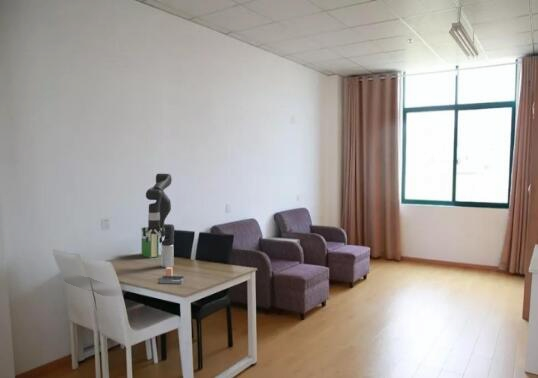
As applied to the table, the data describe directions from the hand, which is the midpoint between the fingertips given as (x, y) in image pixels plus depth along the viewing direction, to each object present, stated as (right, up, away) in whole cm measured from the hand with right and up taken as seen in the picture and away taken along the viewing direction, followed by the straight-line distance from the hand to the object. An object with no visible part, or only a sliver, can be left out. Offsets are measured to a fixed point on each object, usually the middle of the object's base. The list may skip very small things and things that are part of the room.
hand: (154, 242), depth 266 cm
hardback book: (-26, -22, +78) cm, 85 cm away
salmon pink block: (+7, -27, +13) cm, 30 cm away
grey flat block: (+11, -27, +3) cm, 29 cm away
